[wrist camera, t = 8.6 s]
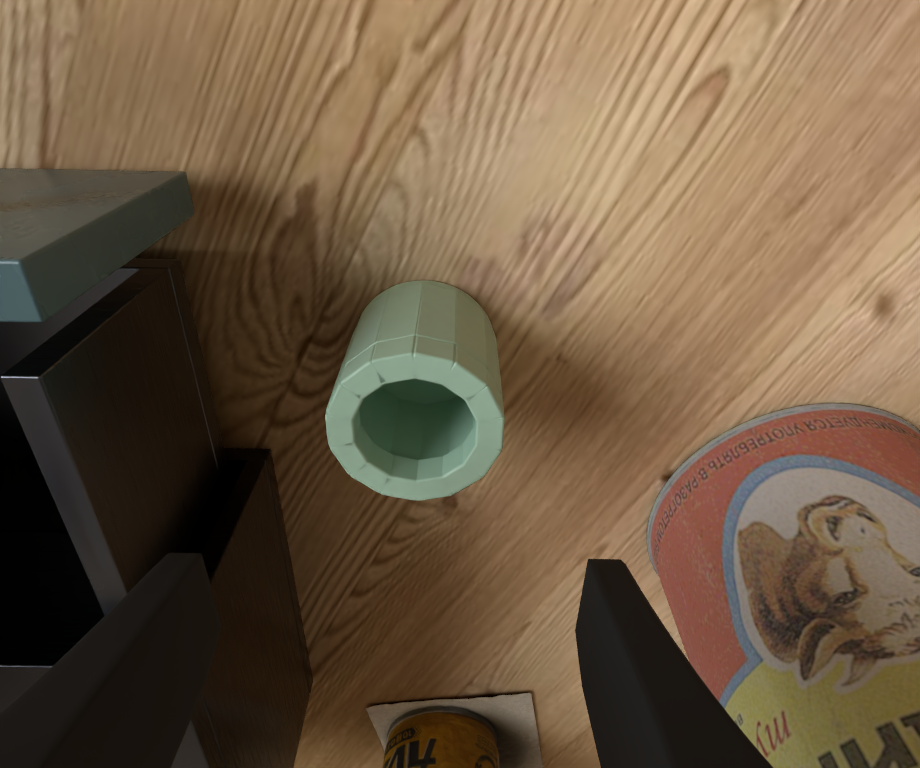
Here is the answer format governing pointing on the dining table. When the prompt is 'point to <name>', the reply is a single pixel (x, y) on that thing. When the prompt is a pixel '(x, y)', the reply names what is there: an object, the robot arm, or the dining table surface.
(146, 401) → the drawer
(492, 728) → the condiment
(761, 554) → the canned food
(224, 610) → the cabinet
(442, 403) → the jar
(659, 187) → the dining table surface
